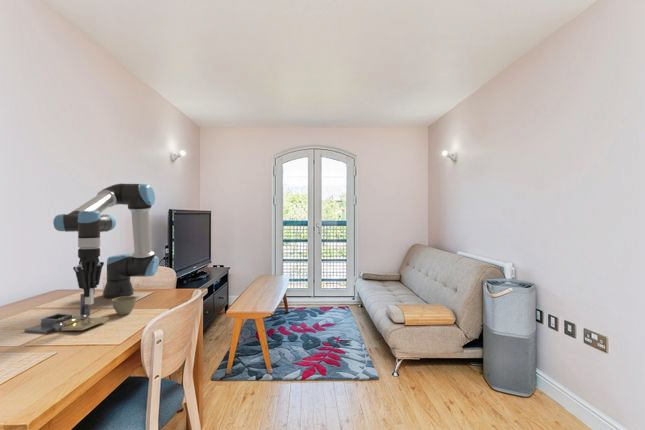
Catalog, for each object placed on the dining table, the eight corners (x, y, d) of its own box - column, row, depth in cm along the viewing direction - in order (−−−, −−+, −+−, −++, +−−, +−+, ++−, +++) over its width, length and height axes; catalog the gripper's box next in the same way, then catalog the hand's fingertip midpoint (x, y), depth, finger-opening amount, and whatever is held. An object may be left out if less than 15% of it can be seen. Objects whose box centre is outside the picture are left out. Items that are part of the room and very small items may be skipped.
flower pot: (140, 310, 158) (141, 296, 158) (126, 317, 148) (126, 301, 148) (121, 309, 159) (122, 295, 159) (106, 316, 149) (106, 300, 149)
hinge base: (66, 317, 146) (66, 309, 146) (92, 319, 144) (92, 311, 144) (24, 331, 128) (24, 323, 128) (53, 334, 127) (54, 325, 127)
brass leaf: (82, 320, 142) (81, 314, 142) (108, 319, 141) (108, 313, 141) (53, 331, 129) (53, 324, 129) (83, 330, 128) (82, 323, 128)
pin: (84, 314, 151) (85, 292, 151) (91, 314, 151) (92, 293, 151) (78, 316, 148) (78, 294, 148) (85, 317, 147) (85, 295, 147)
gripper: (94, 245, 141) (94, 299, 142) (66, 249, 128) (67, 308, 129) (109, 246, 140) (109, 299, 141) (83, 250, 128) (83, 309, 128)
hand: (89, 303), depth 135 cm, fingers closed
